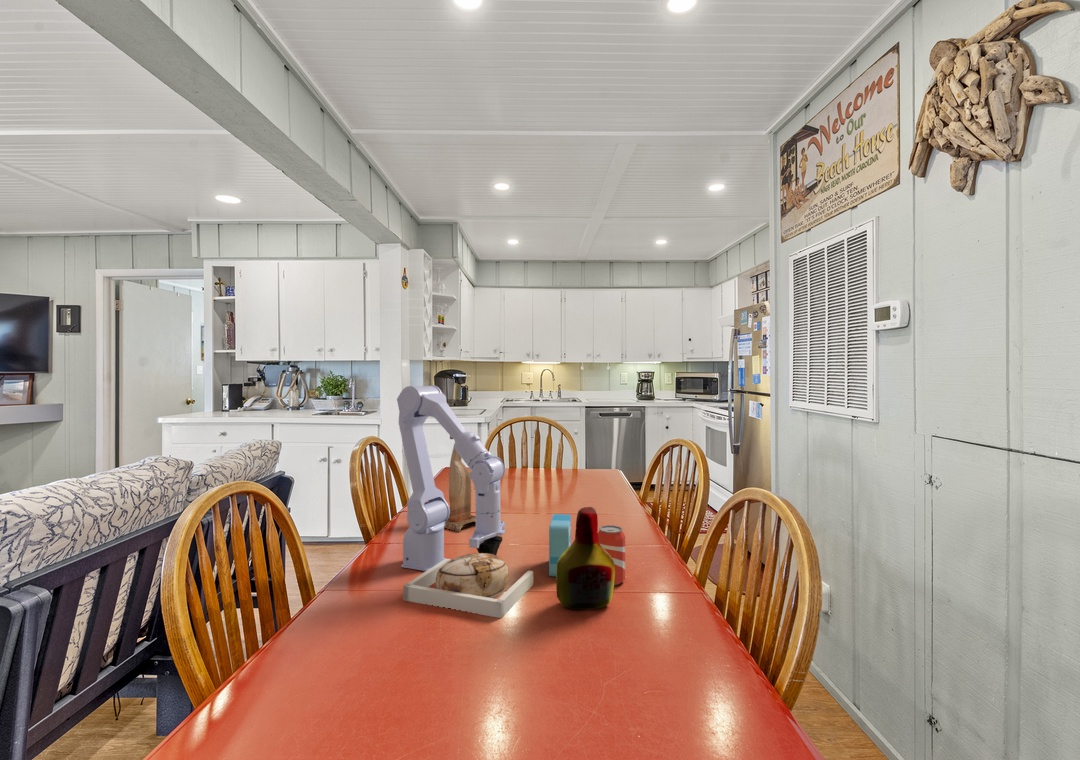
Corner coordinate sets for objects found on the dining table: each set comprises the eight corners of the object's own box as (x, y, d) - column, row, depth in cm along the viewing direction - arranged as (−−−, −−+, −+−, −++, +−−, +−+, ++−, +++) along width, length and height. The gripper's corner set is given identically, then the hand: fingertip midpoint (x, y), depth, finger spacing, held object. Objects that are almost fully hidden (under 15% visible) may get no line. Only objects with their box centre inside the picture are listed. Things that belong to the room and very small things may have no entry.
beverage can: (627, 578, 119) (627, 526, 119) (619, 589, 114) (619, 534, 113) (602, 574, 122) (602, 523, 122) (593, 584, 116) (593, 530, 116)
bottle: (612, 599, 109) (612, 503, 108) (617, 613, 102) (617, 512, 102) (555, 599, 109) (555, 504, 108) (556, 613, 102) (556, 512, 102)
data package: (568, 579, 119) (568, 527, 119) (549, 578, 119) (549, 526, 119) (571, 560, 131) (571, 513, 131) (553, 559, 131) (553, 512, 131)
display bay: (403, 600, 108) (403, 585, 108) (445, 571, 124) (445, 558, 124) (501, 618, 100) (501, 602, 100) (533, 584, 116) (533, 571, 116)
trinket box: (426, 600, 108) (426, 563, 108) (465, 575, 122) (465, 541, 121) (481, 613, 102) (481, 573, 102) (516, 585, 116) (516, 549, 116)
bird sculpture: (460, 519, 169) (457, 420, 168) (487, 524, 162) (484, 421, 162) (434, 527, 160) (431, 423, 159) (462, 533, 153) (458, 424, 153)
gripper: (489, 520, 111) (489, 583, 112) (516, 504, 125) (516, 560, 125) (460, 517, 114) (460, 579, 114) (489, 502, 128) (490, 557, 128)
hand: (488, 569), depth 120 cm, fingers closed
